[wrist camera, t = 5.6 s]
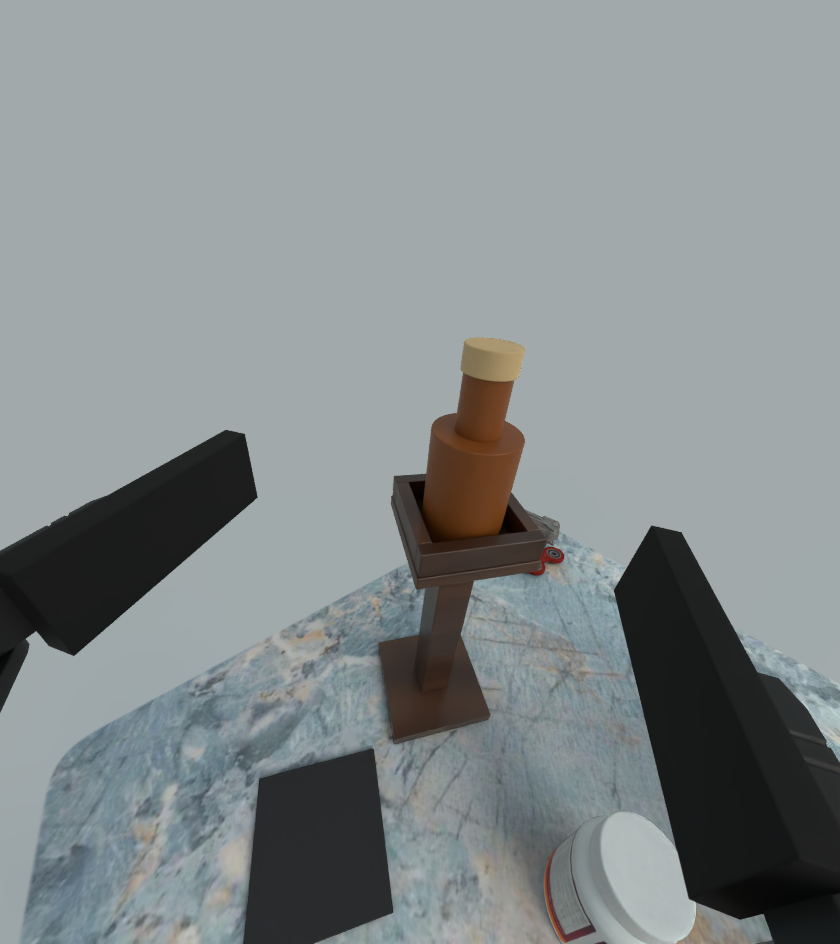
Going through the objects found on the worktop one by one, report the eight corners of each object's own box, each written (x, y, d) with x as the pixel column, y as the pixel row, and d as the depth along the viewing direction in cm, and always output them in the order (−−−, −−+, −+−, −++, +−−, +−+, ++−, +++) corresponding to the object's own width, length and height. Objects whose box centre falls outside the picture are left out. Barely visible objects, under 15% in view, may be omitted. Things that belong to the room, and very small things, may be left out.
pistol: (522, 570, 52) (566, 535, 58) (523, 557, 51) (567, 523, 57) (437, 521, 65) (481, 497, 72) (437, 510, 64) (481, 487, 71)
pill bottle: (641, 914, 26) (724, 882, 20) (601, 1008, 23) (687, 1004, 17) (568, 824, 30) (619, 775, 24) (524, 892, 27) (571, 855, 21)
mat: (393, 912, 25) (393, 911, 25) (241, 971, 23) (240, 971, 23) (373, 750, 33) (373, 748, 33) (260, 780, 31) (259, 778, 31)
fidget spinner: (510, 542, 60) (511, 536, 59) (551, 541, 61) (553, 535, 60) (527, 577, 53) (528, 570, 52) (573, 576, 54) (575, 569, 53)
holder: (488, 719, 36) (561, 544, 23) (394, 744, 34) (413, 564, 21) (456, 632, 45) (496, 464, 31) (378, 647, 42) (385, 472, 29)
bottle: (513, 548, 25) (572, 360, 18) (433, 559, 24) (463, 358, 16) (480, 498, 30) (517, 334, 23) (412, 504, 29) (429, 330, 21)
